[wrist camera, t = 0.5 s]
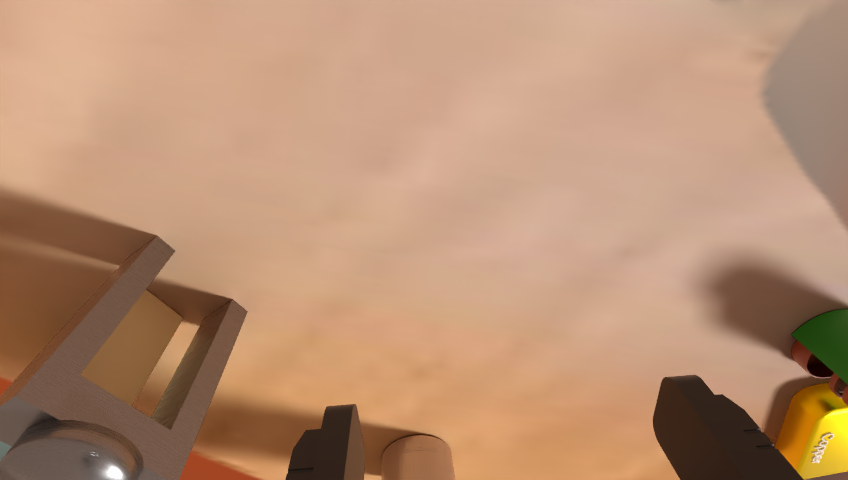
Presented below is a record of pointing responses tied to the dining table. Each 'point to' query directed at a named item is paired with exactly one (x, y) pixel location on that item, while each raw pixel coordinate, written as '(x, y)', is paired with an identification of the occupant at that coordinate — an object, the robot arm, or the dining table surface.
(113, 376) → the sage green rectangular prism
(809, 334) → the motor
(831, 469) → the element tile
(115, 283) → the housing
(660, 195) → the dining table surface
